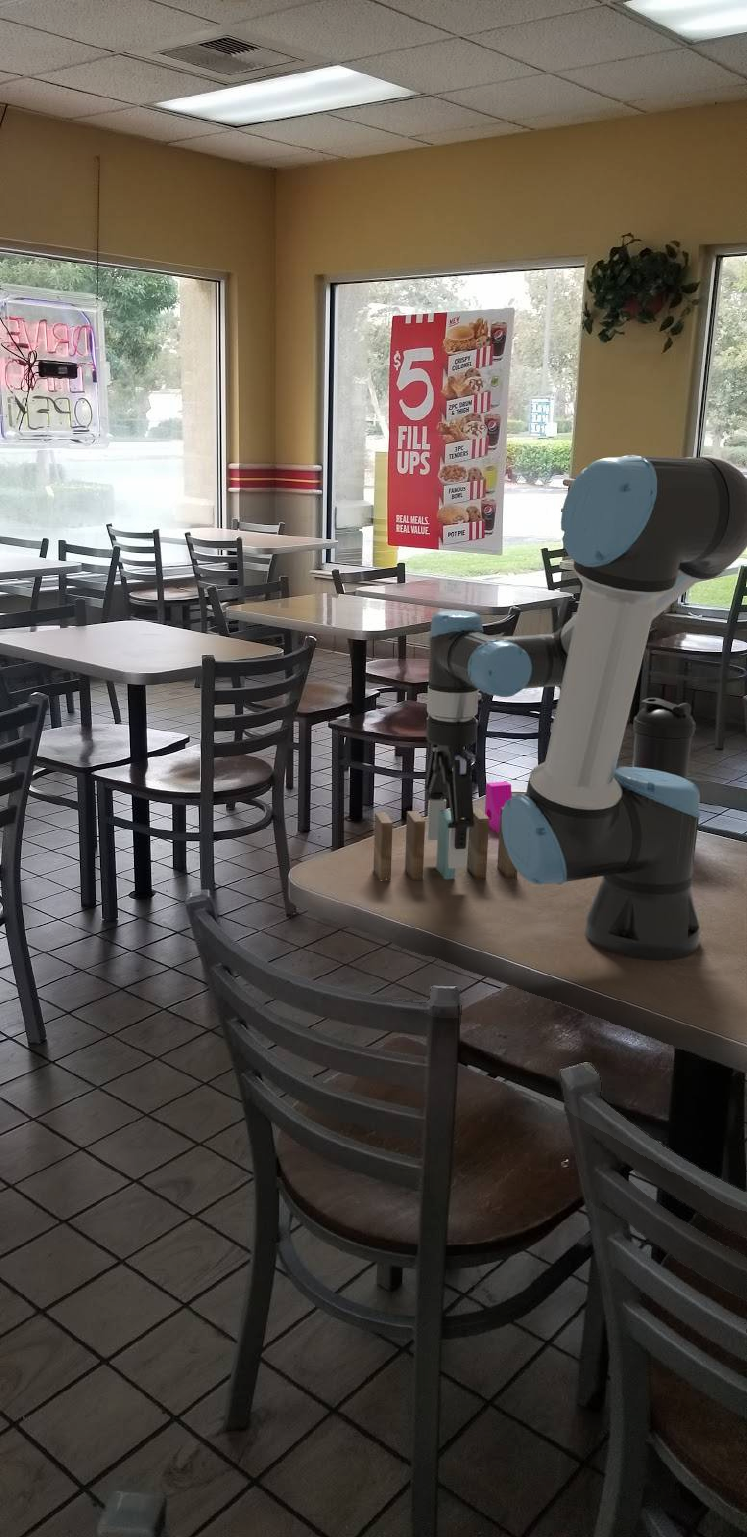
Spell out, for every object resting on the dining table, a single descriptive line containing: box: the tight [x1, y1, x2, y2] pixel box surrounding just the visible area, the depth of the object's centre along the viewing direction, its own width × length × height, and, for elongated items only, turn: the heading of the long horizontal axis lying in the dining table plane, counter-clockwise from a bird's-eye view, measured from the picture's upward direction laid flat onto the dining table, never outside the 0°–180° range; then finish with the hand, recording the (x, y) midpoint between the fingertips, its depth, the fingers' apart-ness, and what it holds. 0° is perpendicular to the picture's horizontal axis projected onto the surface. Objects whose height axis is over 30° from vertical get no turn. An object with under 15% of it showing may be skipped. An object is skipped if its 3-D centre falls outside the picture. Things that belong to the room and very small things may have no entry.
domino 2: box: [404, 810, 426, 881], centre depth 184 cm, size 2×5×10 cm, turn 12°
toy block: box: [484, 781, 513, 834], centre depth 205 cm, size 15×6×8 cm, turn 20°
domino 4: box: [466, 807, 490, 879], centre depth 186 cm, size 2×5×10 cm, turn 12°
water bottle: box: [632, 697, 696, 779], centre depth 206 cm, size 10×10×23 cm
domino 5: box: [496, 807, 518, 878], centre depth 187 cm, size 2×5×10 cm, turn 12°
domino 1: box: [373, 811, 393, 881], centre depth 183 cm, size 2×5×10 cm, turn 12°
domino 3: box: [435, 809, 456, 880], centre depth 185 cm, size 2×5×10 cm, turn 12°
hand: (446, 852), depth 185 cm, fingers open, 12 cm apart
